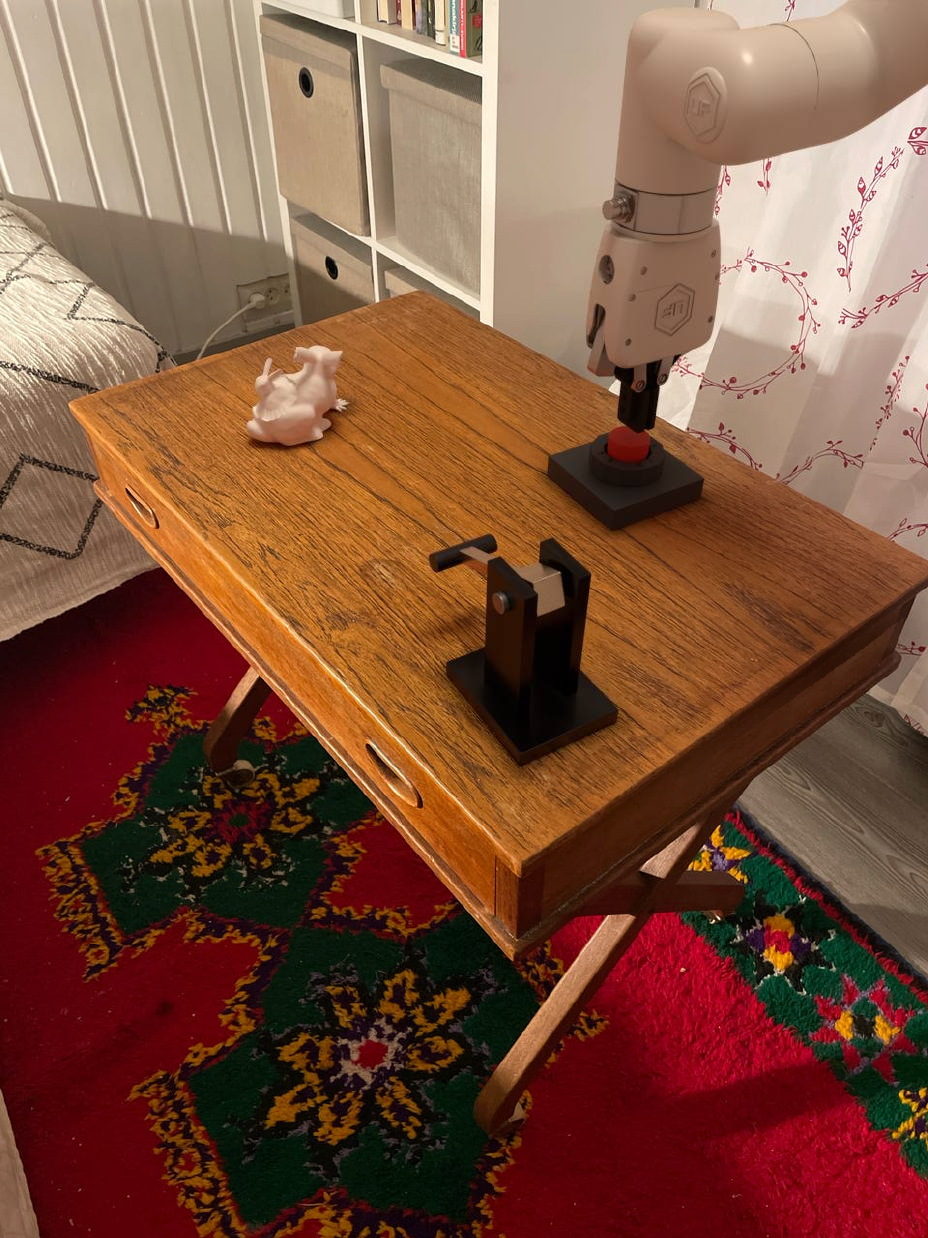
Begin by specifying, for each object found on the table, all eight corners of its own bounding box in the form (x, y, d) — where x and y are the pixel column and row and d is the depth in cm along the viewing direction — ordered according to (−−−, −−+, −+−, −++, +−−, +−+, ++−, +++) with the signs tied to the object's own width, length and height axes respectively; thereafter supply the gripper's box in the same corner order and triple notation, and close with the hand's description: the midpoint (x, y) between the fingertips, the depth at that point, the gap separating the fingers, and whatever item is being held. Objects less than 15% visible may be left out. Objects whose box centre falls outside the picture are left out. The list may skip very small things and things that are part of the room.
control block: (632, 447, 94) (637, 410, 91) (700, 498, 87) (708, 460, 85) (546, 475, 90) (549, 438, 87) (611, 531, 83) (616, 492, 81)
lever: (431, 576, 70) (425, 545, 69) (490, 555, 72) (485, 525, 71) (518, 624, 60) (513, 590, 59) (584, 599, 62) (579, 564, 61)
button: (630, 438, 88) (633, 421, 87) (655, 457, 86) (658, 440, 85) (598, 449, 87) (601, 432, 86) (623, 468, 84) (625, 450, 83)
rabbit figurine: (344, 399, 100) (337, 310, 94) (382, 431, 96) (377, 339, 89) (237, 433, 95) (222, 340, 89) (272, 468, 90) (258, 373, 84)
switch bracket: (445, 673, 70) (444, 544, 62) (537, 636, 73) (547, 508, 66) (520, 766, 64) (529, 634, 56) (617, 721, 67) (639, 590, 59)
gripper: (612, 238, 67) (590, 467, 79) (773, 202, 72) (730, 421, 84) (551, 207, 71) (539, 427, 83) (706, 176, 77) (674, 386, 89)
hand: (635, 424), depth 84 cm, fingers closed
